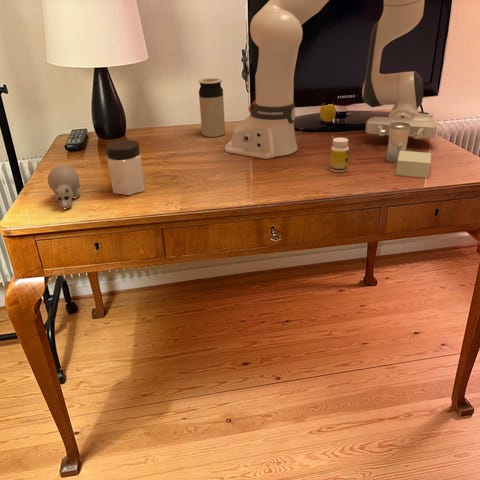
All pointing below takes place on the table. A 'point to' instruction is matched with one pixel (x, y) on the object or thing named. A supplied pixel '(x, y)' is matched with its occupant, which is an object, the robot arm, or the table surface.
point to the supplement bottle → (339, 155)
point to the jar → (125, 167)
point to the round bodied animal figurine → (64, 184)
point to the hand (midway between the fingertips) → (398, 134)
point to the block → (413, 164)
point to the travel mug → (211, 107)
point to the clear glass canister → (397, 140)
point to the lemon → (327, 112)
